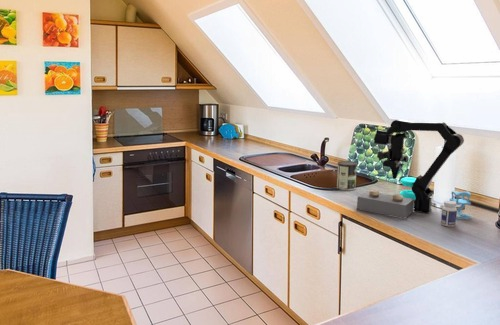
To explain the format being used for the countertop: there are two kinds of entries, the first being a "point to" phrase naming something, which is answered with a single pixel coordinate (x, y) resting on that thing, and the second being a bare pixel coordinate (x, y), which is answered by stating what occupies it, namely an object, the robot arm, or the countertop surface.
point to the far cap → (374, 193)
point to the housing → (385, 205)
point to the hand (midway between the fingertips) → (394, 178)
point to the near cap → (397, 197)
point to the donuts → (408, 182)
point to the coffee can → (346, 175)
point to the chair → (461, 202)
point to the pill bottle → (449, 214)
